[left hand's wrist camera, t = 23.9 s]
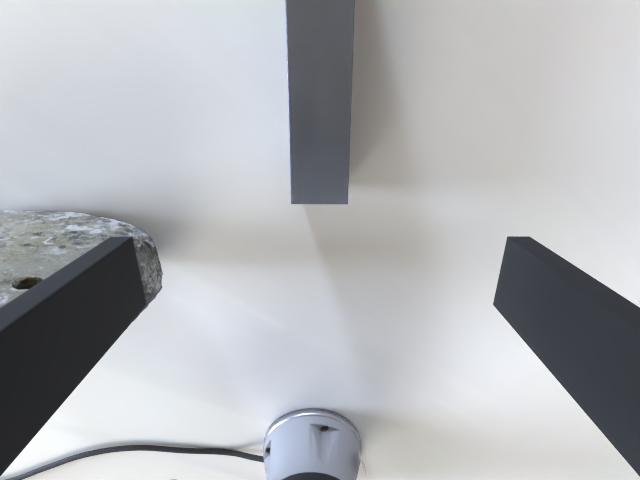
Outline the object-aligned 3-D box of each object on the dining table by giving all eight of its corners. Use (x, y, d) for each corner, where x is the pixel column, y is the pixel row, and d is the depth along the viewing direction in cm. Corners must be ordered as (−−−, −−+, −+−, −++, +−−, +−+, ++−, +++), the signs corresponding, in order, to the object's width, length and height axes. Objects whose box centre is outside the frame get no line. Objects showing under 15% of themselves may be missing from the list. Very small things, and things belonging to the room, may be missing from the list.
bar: (342, 185, 41) (347, 204, 33) (296, 185, 41) (291, 204, 33) (350, -110, 31) (360, -178, 23) (290, -111, 31) (280, -178, 23)
